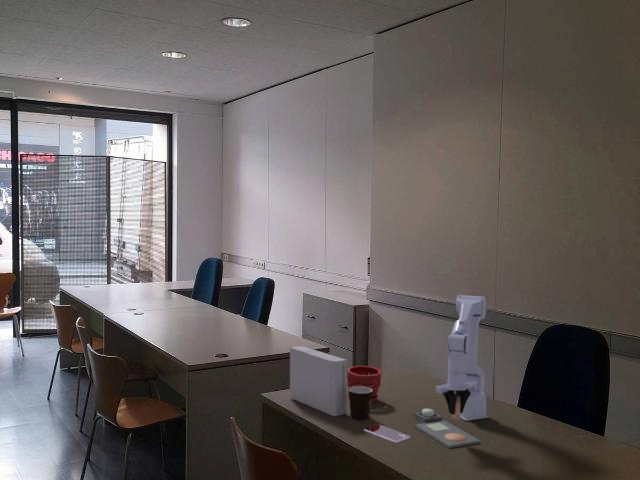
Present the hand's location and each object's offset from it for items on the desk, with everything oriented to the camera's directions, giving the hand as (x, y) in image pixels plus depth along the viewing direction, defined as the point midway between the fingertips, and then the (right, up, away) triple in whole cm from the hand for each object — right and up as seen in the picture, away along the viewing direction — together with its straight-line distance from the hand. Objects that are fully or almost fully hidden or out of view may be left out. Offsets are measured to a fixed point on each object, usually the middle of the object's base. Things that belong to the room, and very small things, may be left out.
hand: (455, 412), depth 199 cm
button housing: (-6, -8, +19) cm, 21 cm away
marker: (0, -2, 0) cm, 2 cm away
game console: (-45, -7, +33) cm, 56 cm away
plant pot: (-27, -7, +40) cm, 49 cm away
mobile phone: (-22, -9, +5) cm, 24 cm away
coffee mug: (-29, -8, +22) cm, 37 cm away
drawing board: (-2, -9, +5) cm, 10 cm away
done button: (-6, -8, +19) cm, 21 cm away
